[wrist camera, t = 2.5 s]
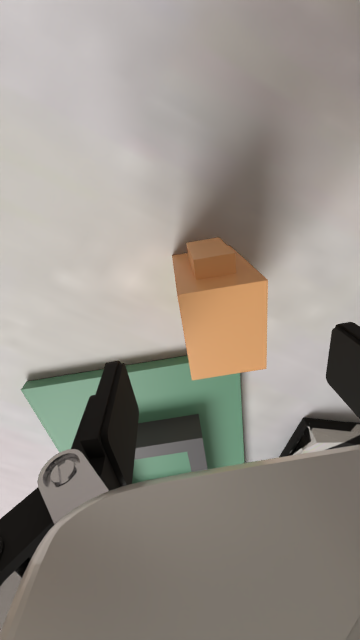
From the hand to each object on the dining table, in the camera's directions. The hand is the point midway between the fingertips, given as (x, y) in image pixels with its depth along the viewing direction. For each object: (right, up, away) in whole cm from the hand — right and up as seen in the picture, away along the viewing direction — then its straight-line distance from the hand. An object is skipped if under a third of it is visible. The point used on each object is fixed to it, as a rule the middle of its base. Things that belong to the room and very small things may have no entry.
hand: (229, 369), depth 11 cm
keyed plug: (0, +5, +7) cm, 8 cm away
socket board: (-5, -12, +16) cm, 20 cm away
